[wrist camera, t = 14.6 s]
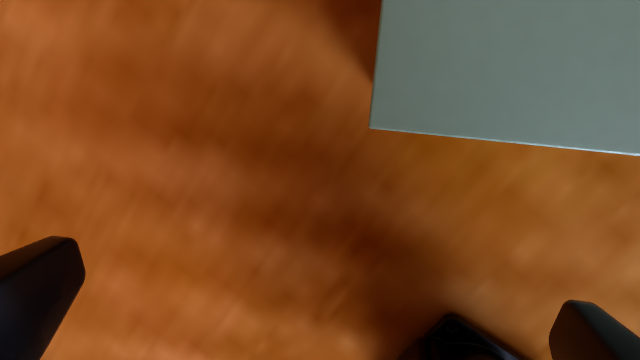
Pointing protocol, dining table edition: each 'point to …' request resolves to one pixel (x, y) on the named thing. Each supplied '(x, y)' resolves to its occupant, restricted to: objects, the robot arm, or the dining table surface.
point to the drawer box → (511, 71)
